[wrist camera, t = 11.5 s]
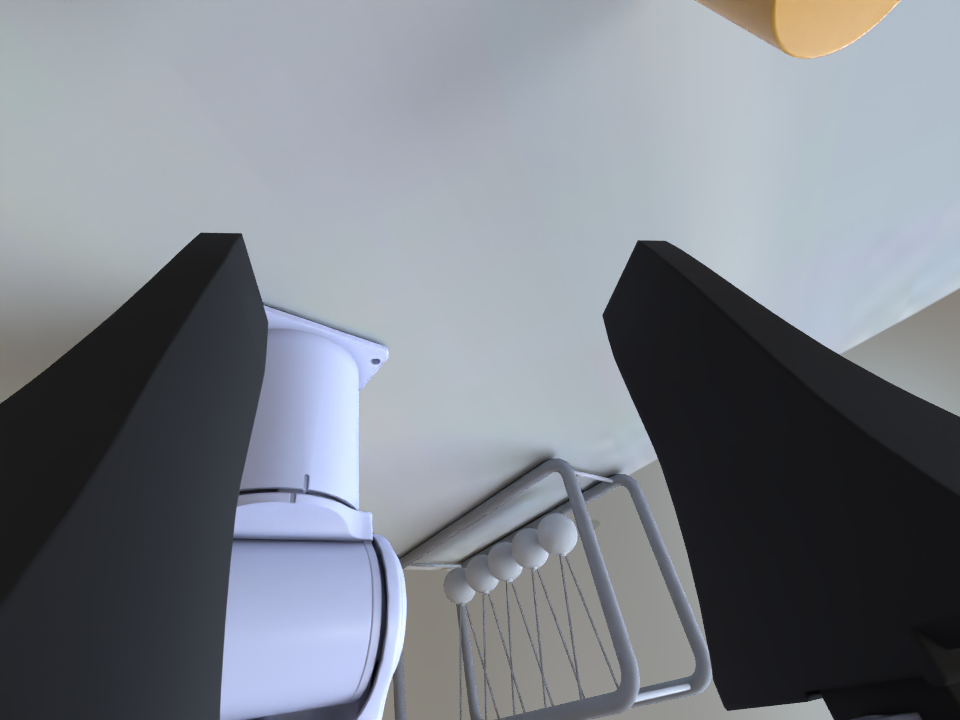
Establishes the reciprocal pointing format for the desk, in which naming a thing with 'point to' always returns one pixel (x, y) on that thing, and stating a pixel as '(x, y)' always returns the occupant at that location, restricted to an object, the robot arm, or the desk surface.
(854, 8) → the peg
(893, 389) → the robot arm
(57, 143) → the desk surface
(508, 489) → the newton's cradle
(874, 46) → the desk surface
